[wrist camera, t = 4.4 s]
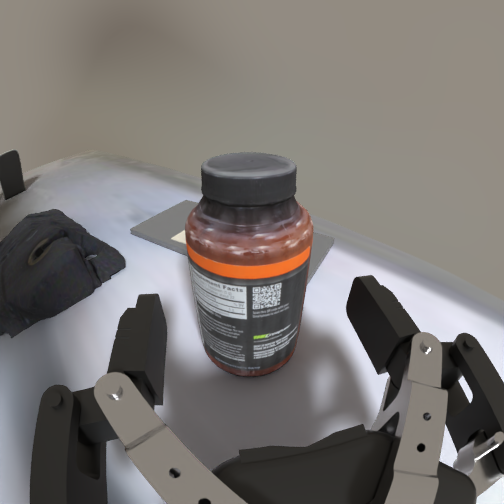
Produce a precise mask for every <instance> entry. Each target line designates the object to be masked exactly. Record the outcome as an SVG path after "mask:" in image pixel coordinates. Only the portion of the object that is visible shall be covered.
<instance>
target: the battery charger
mask: <svg viewBox="0 0 504 504" xmlns="http://www.w3.org/2000/svg"><path fill="white" fill-rule="evenodd" d="M0 184H1V188H2V192H3V196H4V199H8V198H10V197H12V196H14V195H16V194H18V193H20V192H22V191H24V190H25V185H24V180H23V175H22V168H21V162H20V158H19V153H18V151H17V150H10V151H8V152H6V153H3V154H1V155H0Z"/></svg>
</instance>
